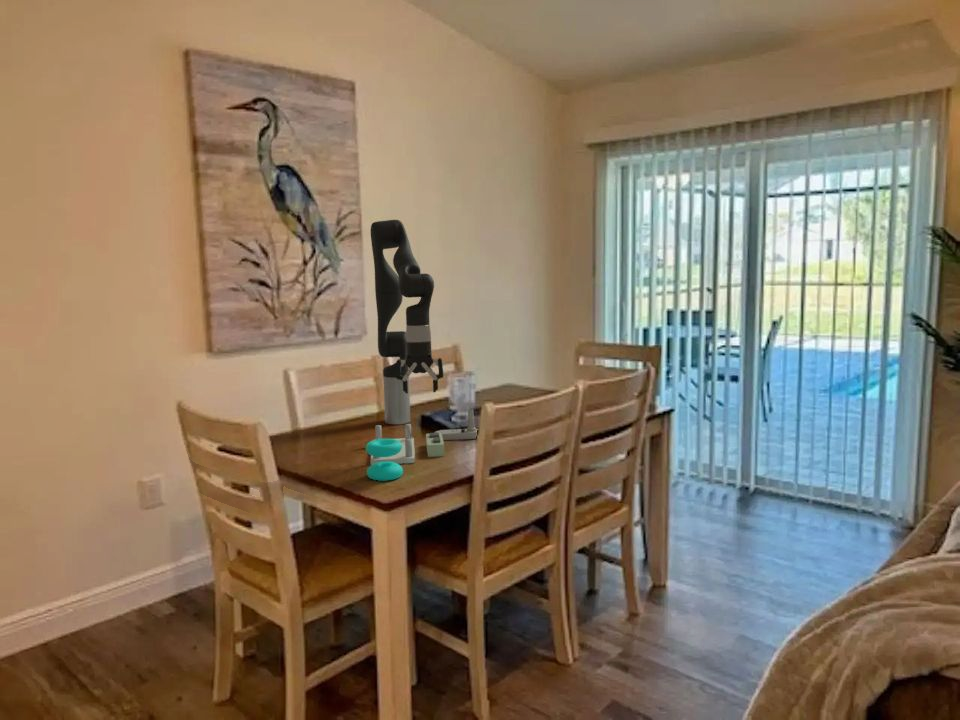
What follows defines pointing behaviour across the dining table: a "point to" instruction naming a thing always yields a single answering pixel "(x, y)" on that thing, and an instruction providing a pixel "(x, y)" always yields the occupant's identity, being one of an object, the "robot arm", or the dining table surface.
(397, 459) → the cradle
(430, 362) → the robot arm
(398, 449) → the donuts
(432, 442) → the pale green block
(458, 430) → the electronic device
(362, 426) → the dining table surface
